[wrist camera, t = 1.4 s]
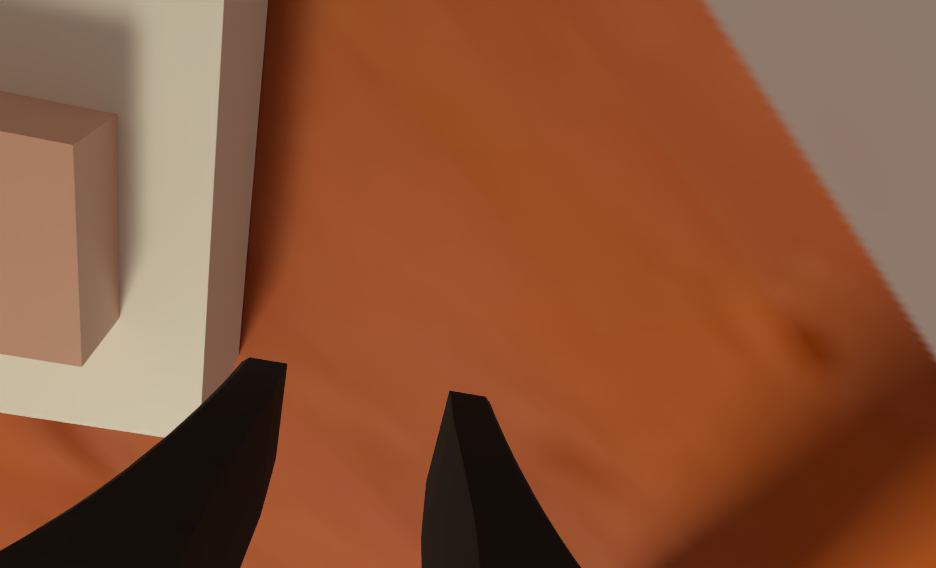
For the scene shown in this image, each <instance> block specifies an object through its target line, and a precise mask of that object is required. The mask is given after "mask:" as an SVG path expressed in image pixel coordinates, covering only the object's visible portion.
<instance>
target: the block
mask: <svg viewBox="0 0 936 568" xmlns="http://www.w3.org/2000/svg"><path fill="white" fill-rule="evenodd" d="M119 318H120V317H119V220H118V123H117V114H113V113H108V112H103V111H98V110H93V109H88V108H83V107H78V106H73V105H68V104H63V103H58V102H53V101H48V100H43V99H38V98H33V97H28V96H23V95H18V94H13V93H8V92H3V91H0V354H4V355H10V356H16V357H23V358H29V359H35V360H41V361H47V362H54V363H60V364H66V365H72V366H79V367H82V366H83V365H84V364H85V362H86V361H87V360H88V358H89V357H90V356H91V355H92V353H93V352H94V351H95V349H96V348H97V347H98V345H99V344H100V343H101V341H102V340H103V339H104V338H105V336H106V335H107V334H108V332H109V331H110V330H111V328H112V327H113V326H114V325H115V323H116V322H117V321H118V319H119Z"/></svg>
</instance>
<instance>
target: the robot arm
mask: <svg viewBox="0 0 936 568" xmlns="http://www.w3.org/2000/svg"><path fill="white" fill-rule="evenodd" d="M286 370H287V364H285V363H279V362H273V361H267V360H261V359H255V358H248V359H246V360H244V361H243V362H241V364H240V365H239V366H238V367H237V368H236V369H235V370H234V371H233V373H232V374H231V375H230V376H229V377H228V378H227V379H226V380H225V381H224V382H223V383H222V384H221V385H220V386H219V387H218V388H217V389H216V390H215V391H214V392H213V393H212V394H211V395H210V396H209V397H208V398H207V399H206V400H205V401H204V402H203V403H202V404H201V405H200V406H199V407H198V408H197V409H196V410H195V411H194V412H193V413H191V414H190V415H189V416H188V417H187V418H186V419H185V420H184V421H183V422H182V423H181V424H179V425H178V426H177V427H176V428H175V429H174V430H173V431H172V432H171V433H169V434H168V435H167V436H166V437H165V438H164V439H163V440H161V441H160V442H159V443H158V444H156V445H155V446H154V447H153V448H151V449H150V450H149V451H148V452H146V453H145V454H144V455H143V456H142V457H140V458H139V459H138V460H137V461H135V462H134V463H133V464H132V465H130V466H129V467H128V468H127V469H125V470H124V471H123V472H121V473H120V474H119V475H117V476H116V477H115V478H113V479H112V480H111V481H109V482H108V483H107V484H105V485H104V486H102V487H101V488H100V489H98V490H97V491H95V492H94V493H92V494H91V495H89V496H88V497H87V498H85V499H84V500H82V501H81V502H79V503H78V504H76V505H75V506H73V507H72V508H70V509H69V510H67V511H66V512H64V513H62V514H61V515H59V516H58V517H56V518H54V519H53V520H51V521H49V522H48V523H46V524H45V525H43V526H41V527H40V528H38V529H36V530H35V531H33V532H32V533H30V534H28V535H27V536H25V537H23V538H22V539H20V540H18V541H17V542H15V543H13V544H11V545H10V546H8V547H6V548H4V549H3V550H1V551H0V568H240V567H241V564H242V562H243V559H244V556H245V554H246V551H247V549H248V546H249V544H250V541H251V538H252V536H253V533H254V531H255V528H256V526H257V523H258V520H259V518H260V515H261V512H262V508H263V504H264V501H265V497H266V493H267V490H268V486H269V482H270V478H271V474H272V471H273V467H274V463H275V459H276V452H277V444H278V436H279V427H280V419H281V411H282V403H283V395H284V386H285V378H286ZM421 554H422V568H581V567H580V566H579V564H578V563H577V561H576V560H575V559H574V557H573V556H572V554H571V553H570V551H569V550H568V549H567V547H566V546H565V544H564V543H563V541H562V540H561V538H560V536H559V535H558V533H557V532H556V530H555V529H554V527H553V525H552V524H551V522H550V521H549V519H548V517H547V516H546V514H545V513H544V511H543V509H542V507H541V506H540V504H539V502H538V501H537V499H536V497H535V495H534V494H533V492H532V490H531V488H530V486H529V484H528V482H527V481H526V479H525V477H524V475H523V473H522V471H521V470H520V468H519V466H518V464H517V462H516V460H515V458H514V456H513V454H512V452H511V450H510V448H509V445H508V443H507V441H506V439H505V437H504V435H503V433H502V430H501V428H500V426H499V424H498V421H497V419H496V417H495V414H494V412H493V409H492V407H491V405H490V403H489V401H488V400H487V398H486V397H484V396H478V395H472V394H466V393H460V392H454V391H449V395H448V399H447V403H446V407H445V411H444V415H443V419H442V423H441V426H440V430H439V434H438V438H437V442H436V446H435V450H434V454H433V458H432V462H431V465H430V469H429V473H428V477H427V481H426V491H425V501H424V512H423V523H422V535H421Z"/></svg>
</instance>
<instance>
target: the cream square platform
mask: <svg viewBox="0 0 936 568" xmlns="http://www.w3.org/2000/svg"><path fill="white" fill-rule="evenodd" d="M267 8H268V0H0V91H3V92H8V93H13V94H18V95H23V96H28V97H33V98H38V99H43V100H48V101H53V102H58V103H63V104H68V105H73V106H78V107H83V108H88V109H93V110H98V111H103V112H108V113H113V114H117V123H118V220H119V317H120V318H119V319H118V321H117V322H116V323H115V325H114V326H113V327H112V328H111V330H110V331H109V332H108V334H107V335H106V336H105V338H104V339H103V340H102V341H101V343H100V344H99V345H98V347H97V348H96V349H95V351H94V352H93V353H92V355H91V356H90V357H89V358H88V360H87V361H86V362H85V364H84V365H83V366H82V367H79V366H72V365H66V364H60V363H54V362H47V361H41V360H35V359H29V358H23V357H16V356H10V355H4V354H0V413H7V414H14V415H20V416H27V417H33V418H40V419H47V420H53V421H60V422H66V423H73V424H80V425H86V426H93V427H99V428H106V429H113V430H119V431H126V432H132V433H139V434H145V435H152V436H159V437H166V436H167V435H168V434H169V433H171V432H172V431H173V430H174V429H175V428H176V427H177V426H178V425H179V424H181V423H182V422H183V421H184V420H185V419H186V418H187V417H188V416H189V415H190V414H191V413H193V412H194V411H195V410H196V409H197V408H198V407H199V406H200V405H201V404H202V403H203V402H204V401H205V400H206V399H207V398H208V397H209V396H210V395H211V394H212V393H213V392H214V391H215V390H216V389H217V388H218V387H219V386H220V385H221V384H222V383H223V382H224V381H225V380H226V379H227V378H228V377H229V376H230V374H231V372H232V369H233V367H234V365H235V363H236V361H237V358H238V356H239V345H240V333H241V321H242V309H243V297H244V285H245V273H246V261H247V249H248V237H249V225H250V213H251V201H252V189H253V177H254V165H255V153H256V141H257V129H258V117H259V105H260V93H261V81H262V69H263V57H264V44H265V32H266V20H267Z"/></svg>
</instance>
